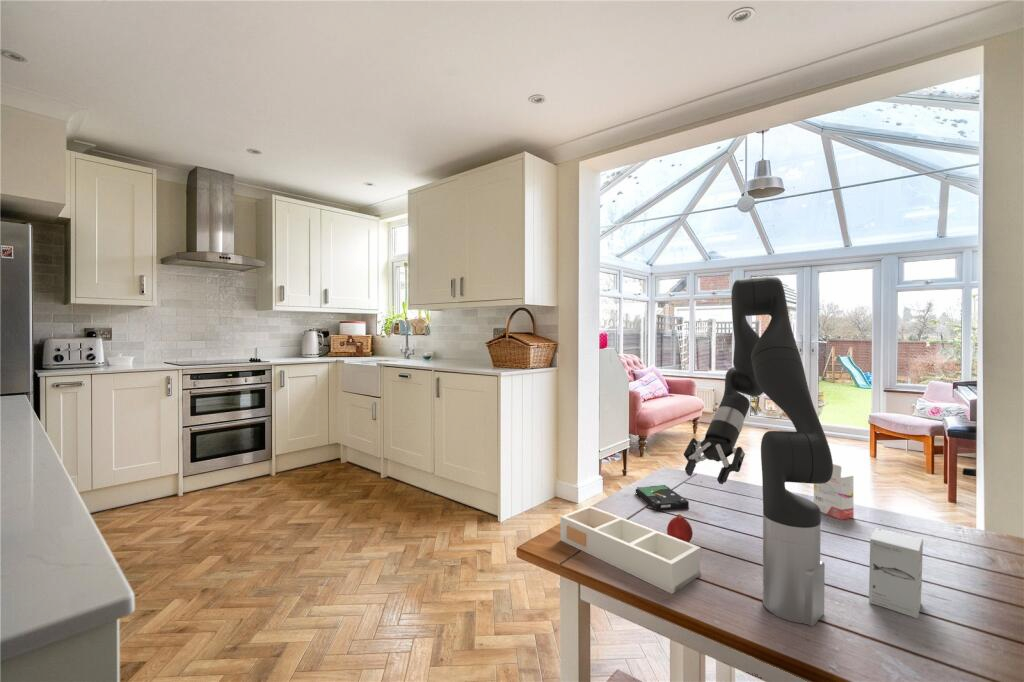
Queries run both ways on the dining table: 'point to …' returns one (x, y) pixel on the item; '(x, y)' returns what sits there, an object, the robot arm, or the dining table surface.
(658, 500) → the disk drive
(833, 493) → the ink cartridge box
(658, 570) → the compartment tray
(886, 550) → the supplement box
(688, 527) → the onion
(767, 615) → the dining table surface
